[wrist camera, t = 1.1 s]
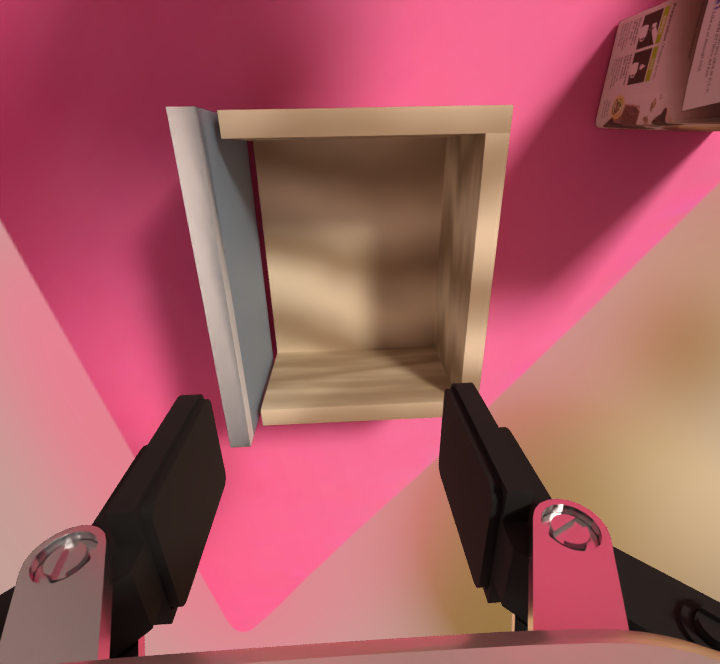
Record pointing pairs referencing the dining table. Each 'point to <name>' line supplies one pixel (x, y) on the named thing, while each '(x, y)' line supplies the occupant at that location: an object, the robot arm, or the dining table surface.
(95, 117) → the dining table surface
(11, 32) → the dining table surface
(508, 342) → the dining table surface
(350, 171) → the crate
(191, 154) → the panel
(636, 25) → the coffee box
